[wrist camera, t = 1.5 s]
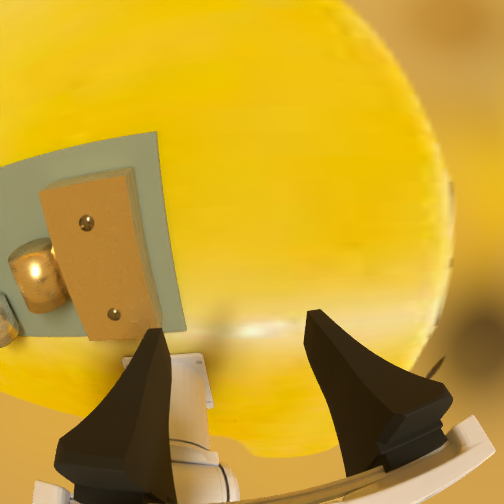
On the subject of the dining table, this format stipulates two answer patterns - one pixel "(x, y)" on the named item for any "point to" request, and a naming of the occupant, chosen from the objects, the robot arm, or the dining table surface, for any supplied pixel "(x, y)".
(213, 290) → the dining table surface
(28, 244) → the brass leaf
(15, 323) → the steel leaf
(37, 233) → the felt mat
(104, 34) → the dining table surface
